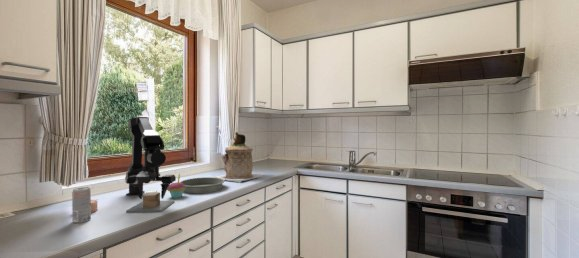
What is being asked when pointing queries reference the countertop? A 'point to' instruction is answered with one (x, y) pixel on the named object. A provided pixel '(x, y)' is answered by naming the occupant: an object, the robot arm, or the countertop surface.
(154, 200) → the walnut cube
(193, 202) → the countertop surface
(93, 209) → the light brown block
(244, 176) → the cookie jar
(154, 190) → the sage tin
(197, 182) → the cake pan
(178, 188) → the cupcake
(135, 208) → the slate trivet
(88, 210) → the energy drink
